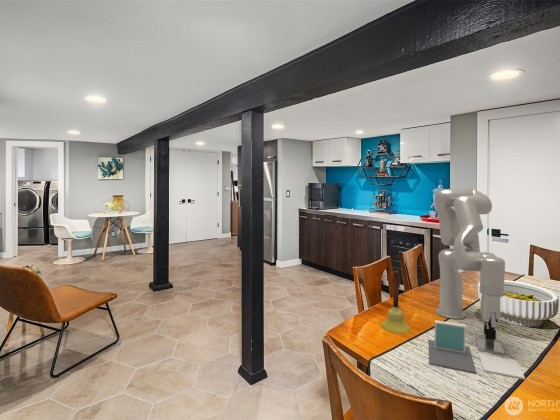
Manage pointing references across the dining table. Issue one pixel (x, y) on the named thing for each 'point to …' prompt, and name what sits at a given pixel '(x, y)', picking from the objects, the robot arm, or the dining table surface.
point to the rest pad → (501, 366)
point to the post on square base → (489, 345)
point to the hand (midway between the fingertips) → (489, 336)
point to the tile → (450, 336)
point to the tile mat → (451, 358)
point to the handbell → (395, 311)
